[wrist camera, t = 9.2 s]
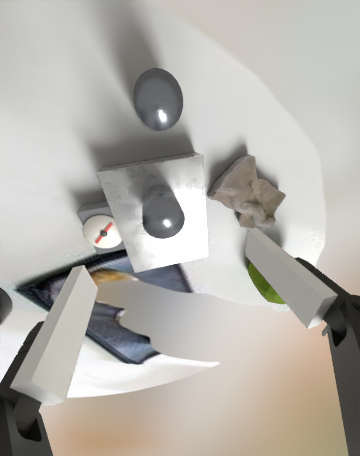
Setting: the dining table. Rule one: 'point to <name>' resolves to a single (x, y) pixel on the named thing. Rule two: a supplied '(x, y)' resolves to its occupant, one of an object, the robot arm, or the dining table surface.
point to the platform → (132, 210)
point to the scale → (108, 216)
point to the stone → (247, 194)
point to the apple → (264, 286)
